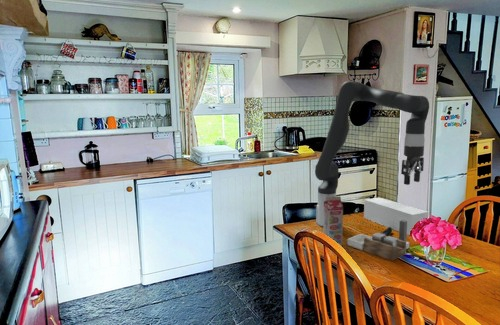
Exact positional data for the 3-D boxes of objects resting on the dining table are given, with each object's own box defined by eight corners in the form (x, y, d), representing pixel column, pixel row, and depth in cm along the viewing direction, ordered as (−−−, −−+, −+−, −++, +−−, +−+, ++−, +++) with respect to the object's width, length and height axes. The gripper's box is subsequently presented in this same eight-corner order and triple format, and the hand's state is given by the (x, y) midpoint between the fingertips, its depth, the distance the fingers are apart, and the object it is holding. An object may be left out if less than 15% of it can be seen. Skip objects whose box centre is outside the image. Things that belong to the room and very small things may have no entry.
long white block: (363, 218, 200) (364, 199, 199) (378, 215, 205) (379, 197, 203) (411, 236, 171) (412, 214, 170) (427, 233, 176) (428, 211, 174)
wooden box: (363, 250, 155) (364, 238, 155) (376, 245, 161) (377, 233, 161) (392, 260, 145) (393, 247, 144) (405, 254, 151) (406, 241, 150)
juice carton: (323, 241, 166) (323, 195, 163) (337, 241, 167) (338, 194, 164) (327, 247, 160) (328, 198, 156) (342, 246, 160) (343, 198, 157)
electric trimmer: (393, 233, 177) (394, 227, 176) (384, 242, 165) (384, 236, 164) (386, 232, 179) (386, 225, 179) (375, 241, 167) (375, 234, 166)
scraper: (395, 249, 156) (396, 221, 154) (402, 245, 160) (403, 218, 158) (401, 251, 154) (403, 223, 152) (409, 247, 158) (410, 220, 156)
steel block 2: (383, 247, 151) (383, 238, 150) (388, 245, 153) (389, 235, 153) (392, 250, 148) (392, 240, 147) (397, 247, 150) (398, 238, 150)
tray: (347, 245, 162) (347, 238, 161) (360, 239, 168) (360, 233, 168) (362, 250, 156) (362, 243, 155) (375, 244, 162) (376, 238, 161)
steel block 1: (371, 243, 155) (372, 234, 155) (377, 241, 158) (377, 232, 157) (380, 246, 152) (380, 237, 151) (385, 244, 155) (385, 235, 154)
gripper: (413, 142, 157) (411, 179, 159) (396, 145, 148) (394, 184, 150) (431, 144, 151) (428, 182, 154) (414, 146, 142) (412, 187, 145)
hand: (411, 183), depth 152 cm, fingers open, 8 cm apart
